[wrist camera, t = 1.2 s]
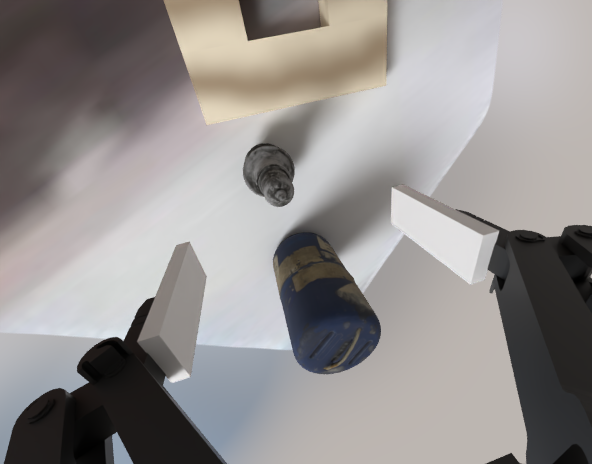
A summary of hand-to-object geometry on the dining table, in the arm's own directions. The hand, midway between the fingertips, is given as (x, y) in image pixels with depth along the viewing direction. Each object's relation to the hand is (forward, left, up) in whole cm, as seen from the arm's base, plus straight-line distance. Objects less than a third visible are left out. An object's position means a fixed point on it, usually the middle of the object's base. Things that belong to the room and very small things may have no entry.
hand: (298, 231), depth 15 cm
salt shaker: (0, 0, -18) cm, 18 cm away
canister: (+15, +2, -18) cm, 23 cm away
